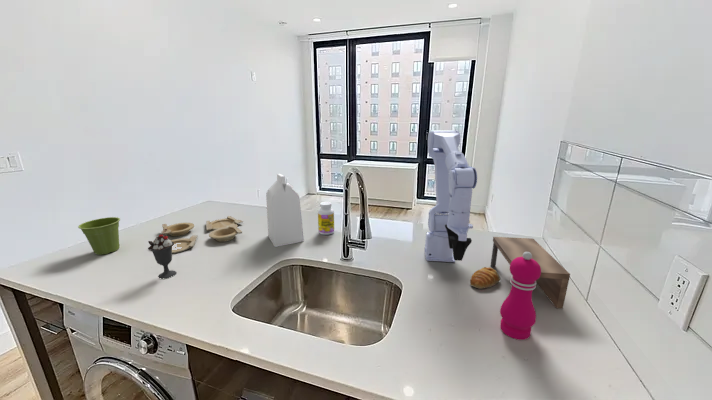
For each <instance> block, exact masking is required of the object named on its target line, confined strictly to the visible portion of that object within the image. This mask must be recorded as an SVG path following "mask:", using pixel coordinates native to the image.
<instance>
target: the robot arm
mask: <svg viewBox="0 0 712 400" xmlns="http://www.w3.org/2000/svg"><path fill="white" fill-rule="evenodd" d="M460 143H461V133H460V131H459V130H458V129H454V130H453V129H452V130H451V129H448V130H444V129H443V130H442V129H441V130H438V129H435V130H434V129H430V131H429V132H428V134H427V152H428V156H429V157H430V158H431V159H432V161H433V164H434V180H435V200H436V204H435V205H434V206H433V207H431V208H430V210H429V211H428V217H427V219H428V222H427V225H428V230H429V231H427V232H426V233H425V239H424V241H425V242H424V243H425V244H424V254H425V260H426V261H427V262H429V261H430V262H443V263H446V262H447V263H456V261H458V262H459V261H460V262H461V261H463V259H464V257H465V253H466V251H467V249H468V247H469V246H470V245H471V244H472V241H473V240H472V238H471V237H468V233H469V230H470V229H474V225H473V224H472V223H470V216H471V215H470V214H471V206H472V197H473V196H472V195H473V189H475V188H476V186H477V183H478V171H477V169H476V168H475V167H473V166H470V165H469V163H468V160H467V158H466V156H465V154H464V153H463V152H461V151H460V150H459V146H460Z"/></svg>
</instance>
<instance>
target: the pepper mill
mask: <svg viewBox="0 0 712 400" xmlns="http://www.w3.org/2000/svg"><path fill="white" fill-rule="evenodd" d="M509 272H510V274H511V276H510V280H509V282H510V284H511V288H510V291H509V292H508V293H509V294H508V295H507V297H506V298H505V299H504V300H503V302H502V303H501V306H500V308H499V314H500V317H501V320H500V325H499V327H500V330H501V332H502V333H503V334H505V335H506V336H507V337H509V338H511V339H514V340H518V341H524V340H525V341H526V340H528V339H529V338H530V337H531V333H532V327H533V326H534V325H535V324H536V319H537V314H536V313H537V312H536V309H535V306H534V303H533V291H534V290H535V289H536V287H537V283H536V280H537V279H539V277H540V275H541V267H540V265H539V264H538V263H537V262H536V261H535V260H534V259H532V254H531V253H530V252H524V253H523V257H517V258H515V259H513V260H512V262H511V264H510V265H509Z"/></svg>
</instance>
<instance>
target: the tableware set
mask: <svg viewBox="0 0 712 400" xmlns="http://www.w3.org/2000/svg"><path fill="white" fill-rule="evenodd" d="M241 223H244V220H241V219H237V218H234V217H233V216H232V215H228V216H227V217H226V218H225V217H224V218H219V219H215V220H212V221H210V220H206V221H205V227H206V232H208V231H209V234H208V237H209V238H210V239H215V240H216V241H217V242H220V243H223V242H229V241H232V240H234V238H235V236H237V235H240V234H243V231H242V229H240V228H238V227H239V226H238V224H241ZM161 226H162V227H161V228H162V229H163V230H162V231H161V234H162V233H163V234H162V235H164V233H165V235H166V234H168V235H170V236H172V237H181V236H184V235H187V234H188V233H189V232H190V231H191V230H192V229H194V227H195V224H194V223H193V222H179V223H173V224H171V225H167V223H163V224H162V225H161ZM165 229H167V230H165ZM164 230H165V231H166V232H165V231H164ZM180 235H181V236H180ZM198 235H199V234H192V235H191V236H190V237H189V238H187V237H186V238H185V237H184V238H183V237H181V238H177V239H176V238H175V239H172V240H171V239H170V241H172V242H174V244H176V243H181V244H177V247H182V248H181V249H177V250H172V255H173V254H177V253H182V252H184V251H187V250H189V249H191V248H193V247H194V246H195V245H196V241H197V239H198ZM175 248H176V247H175Z"/></svg>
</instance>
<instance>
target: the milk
mask: <svg viewBox="0 0 712 400" xmlns="http://www.w3.org/2000/svg"><path fill="white" fill-rule="evenodd" d="M276 175H277V176H276V181H275V182H274V183H273V184H272V185H271V186H270V187H269V188H268V190H267V191H266V196H265V198H266V199H265V200H266V218H267V236H268V238H269V239H270V241H271V244H273V247H280V246H285V245H290V244H291V245H292V244H296V243H300V242H304V241H305V236H304V227H303V217H302V207H301V198H300V195H299V193H298V192H296V190H294V186H293V185H292V184H291V183H290V182H286V177H285V175H284V174H282V173H276Z"/></svg>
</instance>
